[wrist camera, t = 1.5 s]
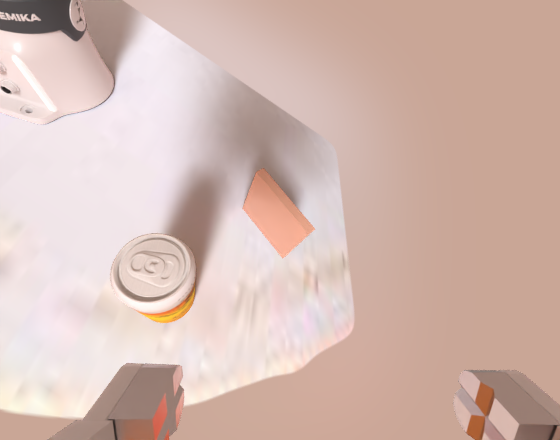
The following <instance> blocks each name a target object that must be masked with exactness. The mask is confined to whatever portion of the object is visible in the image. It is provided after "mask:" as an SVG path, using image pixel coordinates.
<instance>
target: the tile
mask: <svg viewBox="0 0 560 440" xmlns="http://www.w3.org/2000/svg"><path fill="white" fill-rule="evenodd" d="M243 209H244V211H245V212H246V213H247V214H248V216H249V217H250V218H251V219H252V221H253V222H254V223H255V224H256V226H257V227H258V228H259V229H260V231H261V232H262V233H263V234H264V236H265V237H266V238H267V239H268V241H269V242H270V243H271V244H272V246H273V247H274V248H275V249H276V251H277V252H278V253H279V254H280V256H281V257H282V258H284V257H285V256H286V255H288V254H289V253H290V252H291V251H292V250H293V249H294V248H295V247H296V246H298V245H299V244H300V243H301V242H302V241H303V240H304V239H305V238H306V237H307V236H308V235H309V234H310V233H312V232H313V231H314V230H315V228H314V227H313V226H312V225H311V224H310V222H309V221H308V220H307V219H306V218H305V217H304V215H303V214H302V213H301V212H300V211H299V209H298V208H297V207H296V206H295V205H294V203H293V202H292V201H291V200H290V199H289V198H288V196H287V195H286V194H285V193H284V192H283V190H282V189H281V188H280V187H279V186H278V184H277V183H276V182H275V181H274V180H273V179H272V177H271V176H270V175H269V174H268V173H267V171H266V170H265V169H264V168H263V169H261V170H259V171H257V172H256V174H255V177H254V179H253V182H252V185H251V187H250V190H249V193H248V195H247V198H246V201H245V203H244V206H243Z"/></svg>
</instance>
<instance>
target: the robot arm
mask: <svg viewBox="0 0 560 440" xmlns="http://www.w3.org/2000/svg"><path fill="white" fill-rule="evenodd" d="M113 87H114V79H113V76H112V73H111V71H110V70H109V69H108V67H107V66H106V64H105V63H104V61H103V59H102V58H101V56H100V54H99V52H98V50H97V49H96V47H95V45H94V43H93V40H92V38H91V36H90V34H89V32H88V30H87V24H86V20H85V15H84V11H83V8H82V5H81V2H80V0H0V113H2V114H6V115H9V116H12V117H15V118H18V119H22V120H25V121H28V122H31V123H34V124H40V125H41V124H47V123H49V122H52V121H54V120H56V119H58V118H59V117H61V116H64V115H67V114H72V113H77V112H82V111H85V110H88V109H91V108H93V107H95V106H97V105H99V104H101V103H102V102H103V101H105V100H106V99H107V98H108V97H109V95H110V94H111V92H112V90H113ZM182 377H183V372H182V366H180V365H167V364H135V363H126V364H125V365H123V366H122V367H121V368H120V369H119V371H118V372H117V374H116V375H115V376H114V378H113V379H112V380H111V382H110V383H109V384H108V386H107V387H106V389H105V390H104V391H103V393H102V394H101V395H100V397H99V398H98V399H97V401H96V402H95V404H94V405H93V406H92V408H91V409H90V410H89V412H88V413H87V414H86V416H85V417H84V419H83V420H75V421H74V422H73V423H71V424H70V425H68V426H67V427H65V428H64V429H62V430H61V431H59V432H58V433H56V434H55V435H53V436H52V437H50V438H49V439H47V440H169V436H170V435H172V434H173V433H174V432H175V431H176V430H177V427H178V424H179V421H180V418H181V414H182V409H183V403H184V389H183V388H182V387H181V386H180V382H181V380H182ZM459 383H460V385H461V387H462V388H461V389H459V390H458V391H457V392H456V393H455V397H454V402H453V404H454V409H455V414H456V416H457V419H458V421H459V423H460V425H461V426H462V428H463V429H464V431H465V432H466V433H467V434H468V435H469V436H471V437H472V438H473V439H475V440H560V405H559V404H558V403H557V402H556V401H554V400H553V399H552V398H551V397H550V396H549V395H547V394H546V393H545V392H544V391H543V390H542V389H540V388H539V387H538V386H537V385H536V384H535V383H534V382H533V381H531V380H530V379H529V378H528V377H527V376H526V375H524V374H523V373H521V372H519V371H516V370H511V371H510V370H499V371H496V370H464V371H463V372H462V373H461V374H460V377H459Z"/></svg>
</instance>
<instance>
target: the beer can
mask: <svg viewBox="0 0 560 440" xmlns="http://www.w3.org/2000/svg"><path fill="white" fill-rule="evenodd" d="M195 279H196V262H195V258H194V255H193V253H192V251H191V250H190V248H189V247H188V246H187V245H186V244H185V243H184V242H183V241H181V240H180V239H178V238H176V237H173V236H170V235H166V234H159V233H152V234H146V235H142V236H139V237H137V238H135V239H133V240H132V241H130V242H129V243H127V244H126V245H125V246H124V247H123V248H122V249H121V250H120V252H119V253H118V255H117V256H116V258H115V259H114V262H113V264H112V267H111V272H110V281H111V286H112V289H113V291H114V293H115V295H116V296H117V297H118V298H119V300H121V301H122V302H123V303H124V304H126V305H127V306H129V307H131V308H132V309H134V310H136V311H138V312H139V313H141V314H143V315H144V316H146V317H148V318H150V319H151V320H153V321H156V322H160V323H168V322H173V321H176V320H178V319H180V318H181V317H183V316H184V315H185V314H186V313H187V312H188V311H189V309H190V308H191V306H192V304H193V301H194V297H195Z"/></svg>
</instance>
